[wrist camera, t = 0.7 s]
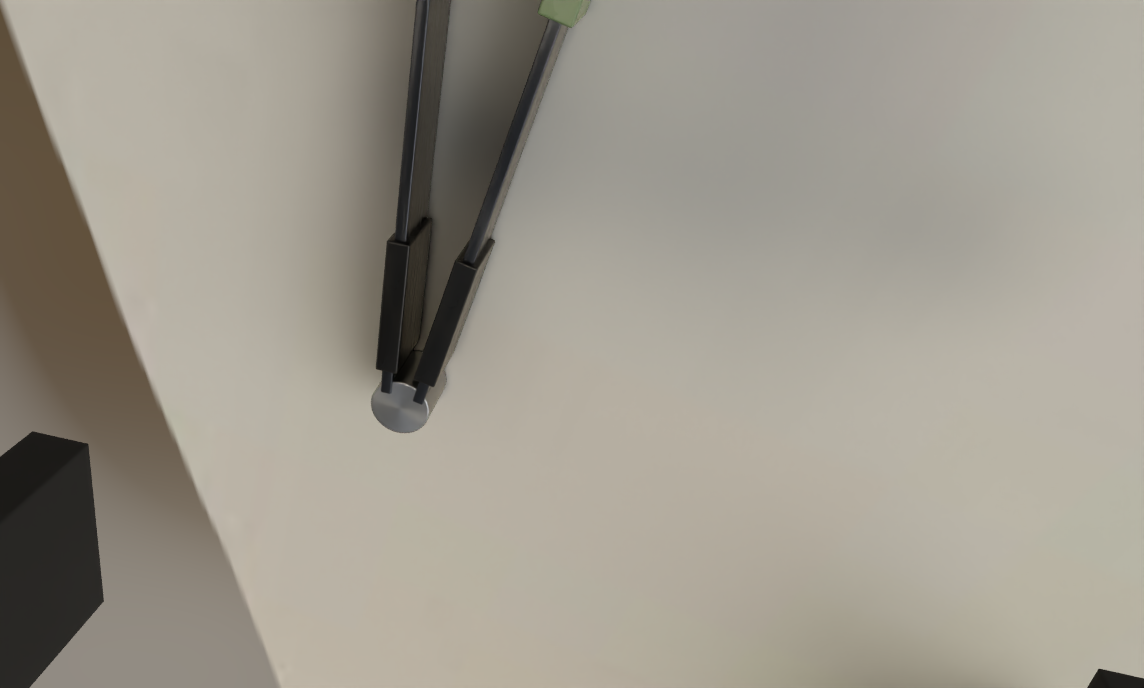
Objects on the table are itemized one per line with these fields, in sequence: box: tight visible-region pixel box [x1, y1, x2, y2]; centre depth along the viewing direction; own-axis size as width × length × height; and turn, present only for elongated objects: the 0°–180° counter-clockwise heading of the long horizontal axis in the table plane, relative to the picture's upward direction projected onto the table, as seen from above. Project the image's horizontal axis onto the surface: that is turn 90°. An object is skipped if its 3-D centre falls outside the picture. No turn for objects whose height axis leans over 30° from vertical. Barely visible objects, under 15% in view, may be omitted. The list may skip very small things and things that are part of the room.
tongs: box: [371, 0, 591, 433], centre depth 30 cm, size 19×6×3 cm, turn 164°
